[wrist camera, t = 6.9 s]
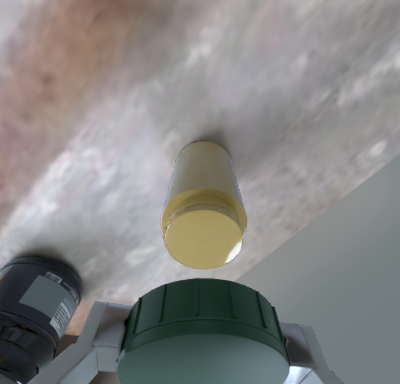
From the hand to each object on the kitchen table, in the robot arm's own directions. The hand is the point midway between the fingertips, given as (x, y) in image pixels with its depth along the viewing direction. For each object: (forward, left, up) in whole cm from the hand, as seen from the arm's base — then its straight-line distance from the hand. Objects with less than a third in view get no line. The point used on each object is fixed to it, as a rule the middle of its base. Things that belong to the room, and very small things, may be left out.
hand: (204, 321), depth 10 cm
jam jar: (0, 0, -16) cm, 16 cm away
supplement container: (+20, -18, -16) cm, 31 cm away
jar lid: (0, 0, +2) cm, 2 cm away
